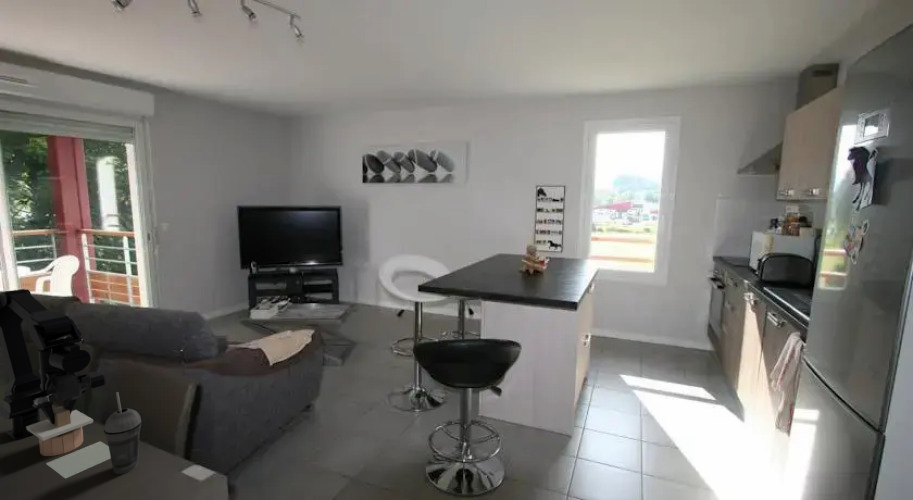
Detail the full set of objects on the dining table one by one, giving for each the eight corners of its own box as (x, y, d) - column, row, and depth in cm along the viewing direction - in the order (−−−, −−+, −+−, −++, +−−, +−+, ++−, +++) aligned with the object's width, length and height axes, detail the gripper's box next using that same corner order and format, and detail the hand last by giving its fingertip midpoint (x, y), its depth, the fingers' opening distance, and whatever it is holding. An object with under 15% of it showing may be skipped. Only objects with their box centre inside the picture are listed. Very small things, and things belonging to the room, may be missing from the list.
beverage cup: (123, 481, 96) (118, 402, 94) (98, 476, 98) (92, 398, 95) (151, 462, 103) (147, 388, 101) (128, 458, 105) (123, 384, 102)
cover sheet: (26, 429, 105) (25, 413, 104) (76, 412, 114) (75, 397, 113) (42, 440, 100) (41, 424, 100) (93, 422, 109) (92, 407, 109)
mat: (45, 465, 101) (45, 463, 101) (100, 442, 111) (100, 441, 111) (65, 480, 96) (65, 478, 96) (120, 455, 106) (120, 453, 106)
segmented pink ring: (35, 451, 106) (34, 433, 106) (75, 436, 113) (73, 419, 113) (48, 461, 102) (47, 442, 102) (88, 445, 110) (87, 427, 109)
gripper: (16, 385, 93) (22, 448, 95) (114, 359, 110) (117, 413, 112) (-2, 374, 98) (4, 435, 100) (94, 351, 115) (98, 403, 117)
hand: (60, 421), depth 107 cm, fingers closed on cover sheet, 2 cm apart
